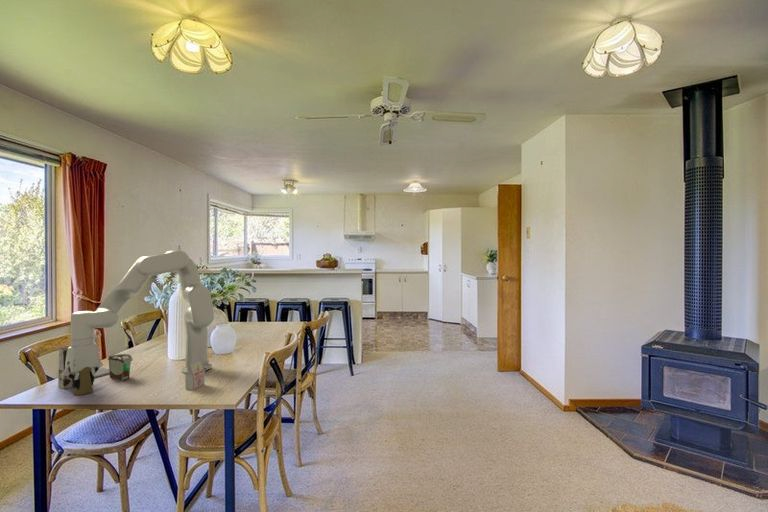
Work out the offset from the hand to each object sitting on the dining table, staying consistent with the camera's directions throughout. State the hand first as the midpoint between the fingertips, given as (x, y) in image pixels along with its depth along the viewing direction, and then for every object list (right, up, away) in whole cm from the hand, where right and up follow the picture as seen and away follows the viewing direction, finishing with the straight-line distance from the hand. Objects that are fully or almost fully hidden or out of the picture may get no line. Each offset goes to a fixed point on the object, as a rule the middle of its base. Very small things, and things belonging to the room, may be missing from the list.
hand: (83, 386), depth 147 cm
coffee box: (-11, -3, +9) cm, 15 cm away
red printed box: (+41, -3, +8) cm, 42 cm away
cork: (0, -2, 0) cm, 2 cm away
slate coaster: (-12, -2, +22) cm, 26 cm away
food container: (+3, -3, +18) cm, 18 cm away
